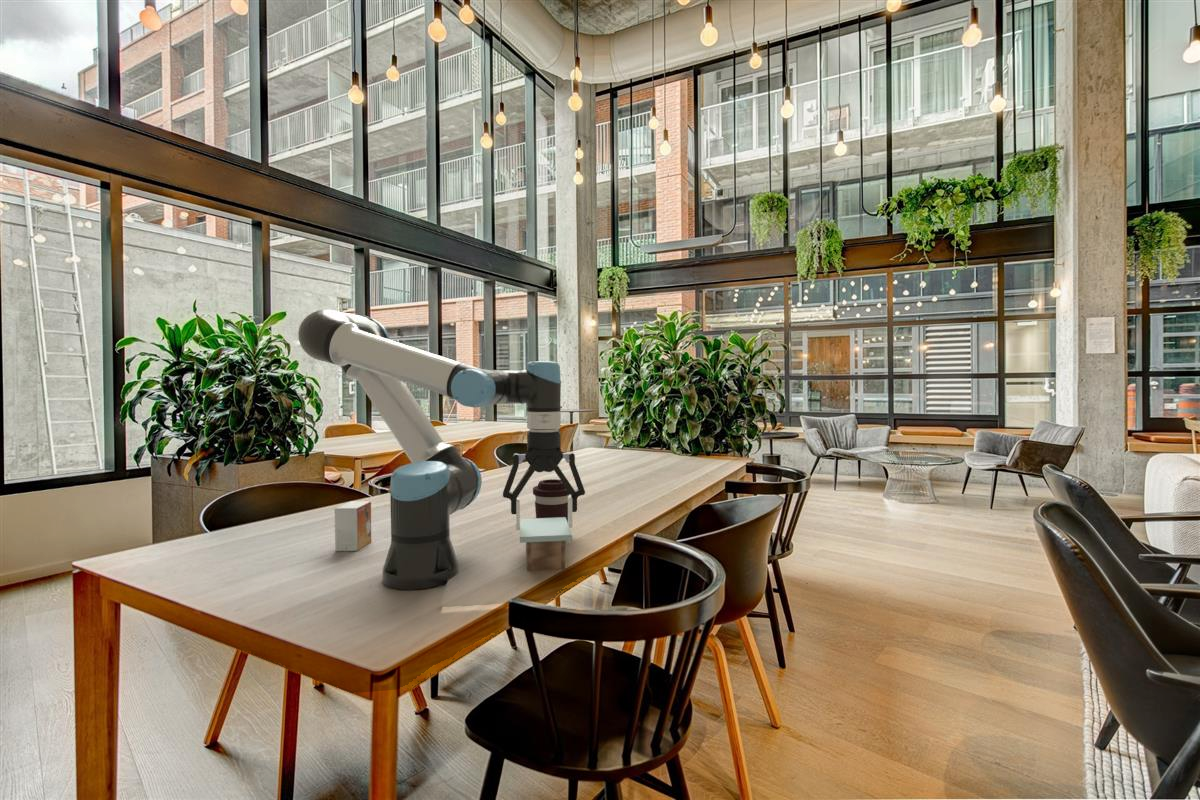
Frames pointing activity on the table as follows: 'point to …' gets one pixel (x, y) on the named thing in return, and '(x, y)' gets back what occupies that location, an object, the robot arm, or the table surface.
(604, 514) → the table surface
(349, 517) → the small box
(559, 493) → the coffee cup
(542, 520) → the lid
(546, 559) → the box
